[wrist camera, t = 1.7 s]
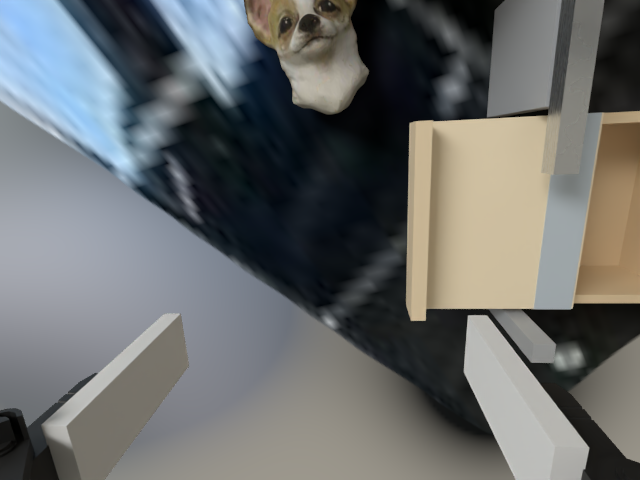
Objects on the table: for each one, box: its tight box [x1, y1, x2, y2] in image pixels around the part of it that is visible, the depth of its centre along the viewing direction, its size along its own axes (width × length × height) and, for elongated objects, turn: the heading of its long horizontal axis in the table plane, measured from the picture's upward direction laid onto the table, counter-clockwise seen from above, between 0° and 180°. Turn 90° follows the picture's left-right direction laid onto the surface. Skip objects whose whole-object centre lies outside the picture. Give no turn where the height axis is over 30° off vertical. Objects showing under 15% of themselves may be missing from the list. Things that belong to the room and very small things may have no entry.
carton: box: [487, 0, 640, 363], centre depth 29 cm, size 15×28×14 cm, turn 3°
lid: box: [406, 112, 604, 321], centre depth 28 cm, size 14×16×3 cm
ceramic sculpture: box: [244, 0, 369, 114], centre depth 31 cm, size 11×9×15 cm
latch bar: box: [541, 0, 604, 175], centre depth 23 cm, size 2×12×2 cm, turn 3°
